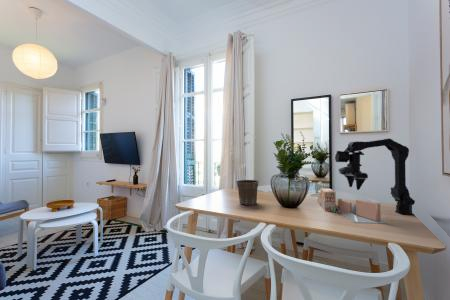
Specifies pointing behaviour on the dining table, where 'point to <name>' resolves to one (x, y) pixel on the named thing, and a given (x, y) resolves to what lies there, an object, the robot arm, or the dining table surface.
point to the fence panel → (367, 210)
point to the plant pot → (247, 191)
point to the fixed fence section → (344, 206)
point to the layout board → (358, 218)
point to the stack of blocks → (327, 199)
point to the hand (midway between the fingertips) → (354, 188)
